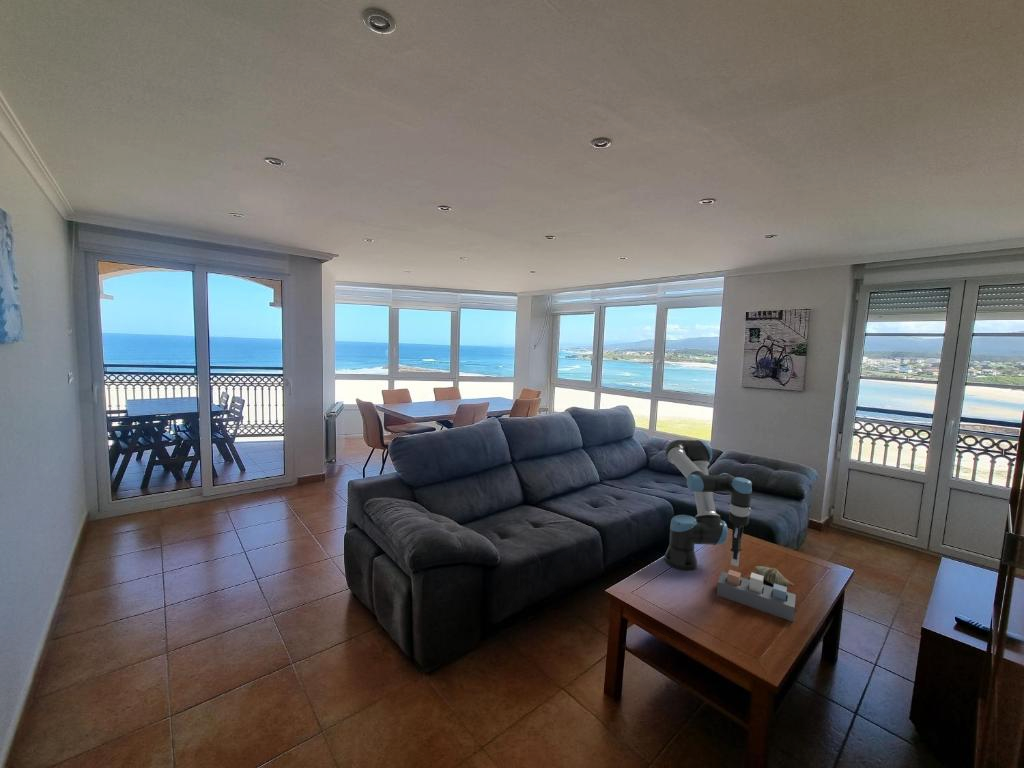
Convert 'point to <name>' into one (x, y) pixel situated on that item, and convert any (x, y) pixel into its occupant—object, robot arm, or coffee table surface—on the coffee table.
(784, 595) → the blue key
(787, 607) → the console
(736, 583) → the salmon brown block
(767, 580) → the seashell
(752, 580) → the white key
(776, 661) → the coffee table surface
